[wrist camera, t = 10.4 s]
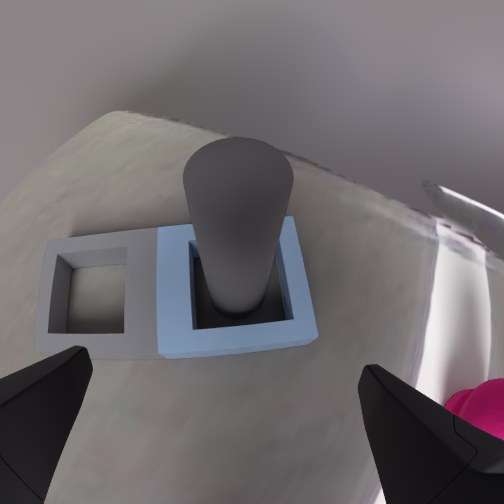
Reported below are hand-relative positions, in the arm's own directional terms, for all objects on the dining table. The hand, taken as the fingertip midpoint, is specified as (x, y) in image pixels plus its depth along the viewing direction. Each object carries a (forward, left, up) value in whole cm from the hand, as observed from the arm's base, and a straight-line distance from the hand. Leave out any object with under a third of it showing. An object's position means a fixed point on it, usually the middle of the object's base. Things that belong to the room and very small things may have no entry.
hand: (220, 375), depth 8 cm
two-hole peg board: (+8, -2, -14) cm, 16 cm away
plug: (+4, -6, -14) cm, 16 cm away
